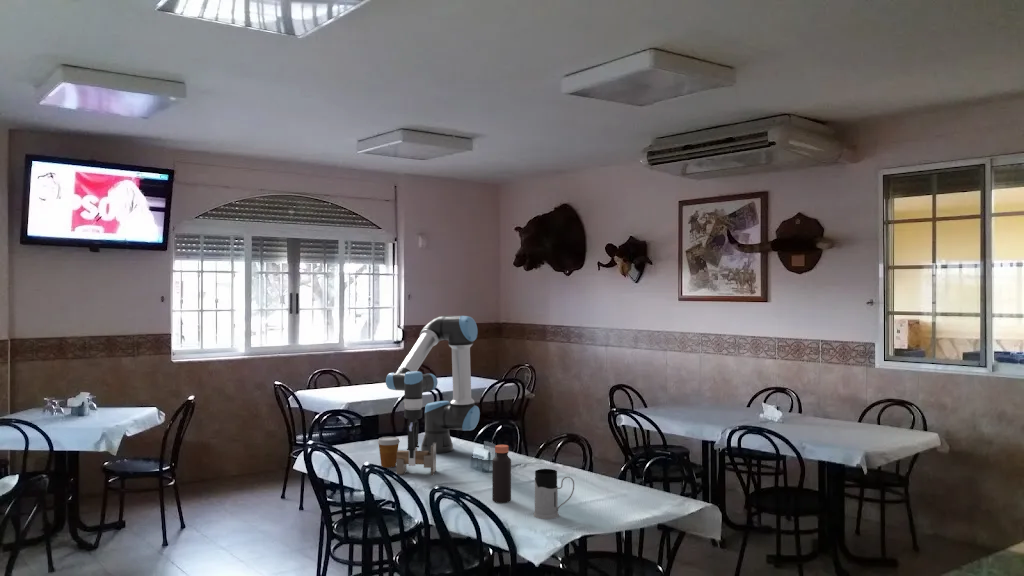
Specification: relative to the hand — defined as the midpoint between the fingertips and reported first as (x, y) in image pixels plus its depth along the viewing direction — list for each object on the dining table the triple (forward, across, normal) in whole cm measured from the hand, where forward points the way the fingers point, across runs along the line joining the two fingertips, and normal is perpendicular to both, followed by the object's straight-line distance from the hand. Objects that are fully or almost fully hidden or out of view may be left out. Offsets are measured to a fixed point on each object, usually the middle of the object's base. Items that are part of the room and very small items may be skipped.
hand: (412, 464), depth 328 cm
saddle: (+4, 0, -5) cm, 6 cm away
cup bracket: (+4, 0, +7) cm, 8 cm away
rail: (0, 0, 0) cm, 0 cm away
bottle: (+4, +41, +40) cm, 57 cm away
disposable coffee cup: (+4, -12, -13) cm, 18 cm away
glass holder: (+4, +59, +59) cm, 84 cm away
